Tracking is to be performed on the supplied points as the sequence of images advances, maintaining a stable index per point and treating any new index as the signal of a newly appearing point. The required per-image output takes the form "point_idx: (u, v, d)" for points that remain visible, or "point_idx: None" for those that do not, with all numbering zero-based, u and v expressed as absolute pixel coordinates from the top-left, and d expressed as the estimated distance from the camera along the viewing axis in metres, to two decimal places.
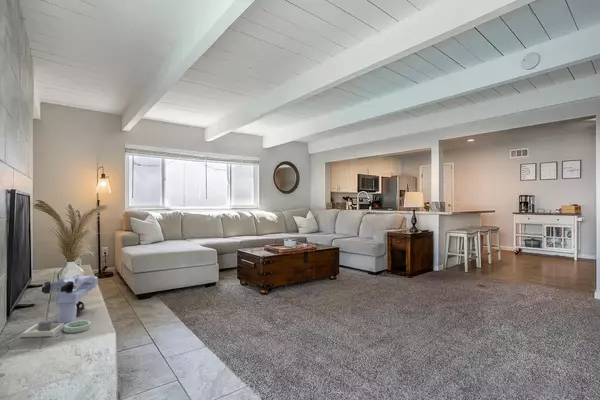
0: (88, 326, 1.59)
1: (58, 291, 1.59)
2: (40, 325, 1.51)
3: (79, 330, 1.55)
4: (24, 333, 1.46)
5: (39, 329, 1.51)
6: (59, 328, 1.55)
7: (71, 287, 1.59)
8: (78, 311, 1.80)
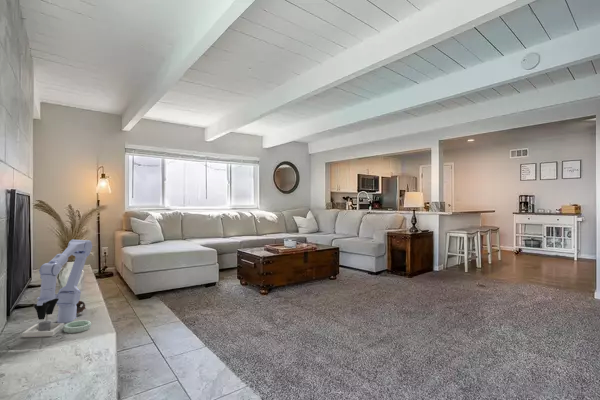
0: (88, 326, 1.59)
1: None
2: (40, 325, 1.51)
3: (79, 330, 1.55)
4: (24, 333, 1.46)
5: (39, 329, 1.51)
6: (59, 328, 1.55)
7: None
8: (79, 311, 1.81)
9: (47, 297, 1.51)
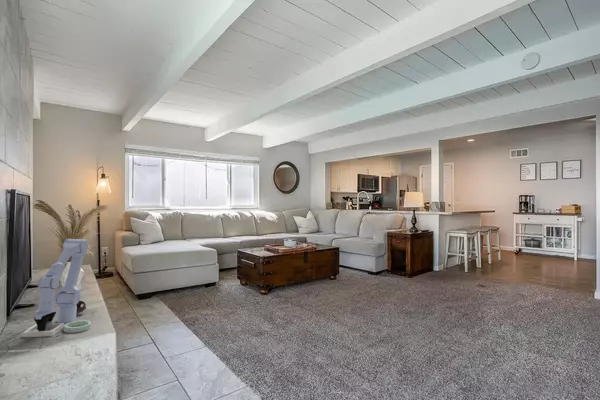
0: (88, 326, 1.59)
1: None
2: None
3: (79, 330, 1.55)
4: (24, 333, 1.46)
5: None
6: (59, 328, 1.55)
7: None
8: (80, 310, 1.81)
9: (46, 311, 1.51)
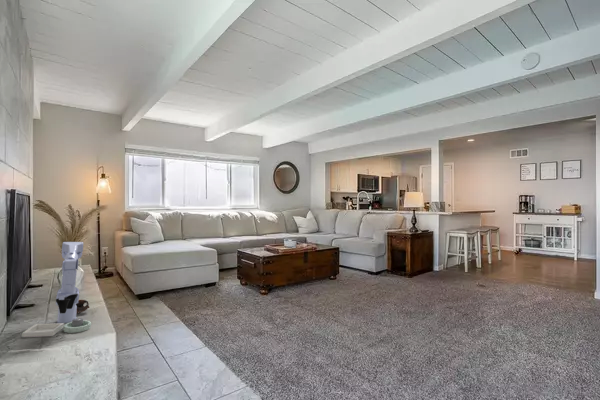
0: (88, 326, 1.59)
1: None
2: (74, 322, 1.57)
3: (79, 330, 1.55)
4: (24, 333, 1.46)
5: (73, 326, 1.57)
6: (59, 328, 1.55)
7: None
8: (83, 309, 1.83)
9: (68, 292, 1.57)
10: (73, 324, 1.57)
